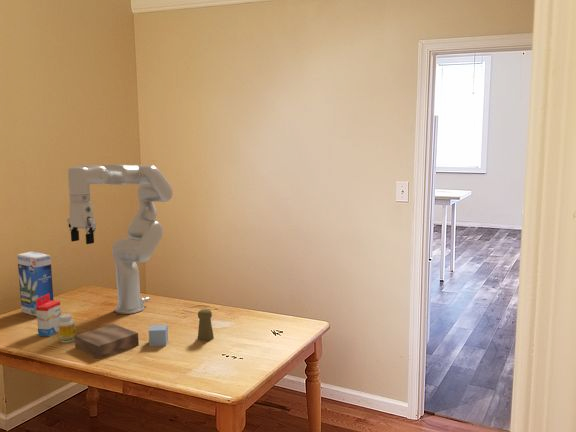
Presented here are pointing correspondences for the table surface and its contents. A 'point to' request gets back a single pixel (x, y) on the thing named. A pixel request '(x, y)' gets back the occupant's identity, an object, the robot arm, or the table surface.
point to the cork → (205, 325)
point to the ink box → (48, 316)
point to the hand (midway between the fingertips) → (82, 242)
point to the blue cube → (158, 335)
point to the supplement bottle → (66, 328)
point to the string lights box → (34, 279)
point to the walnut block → (106, 340)
